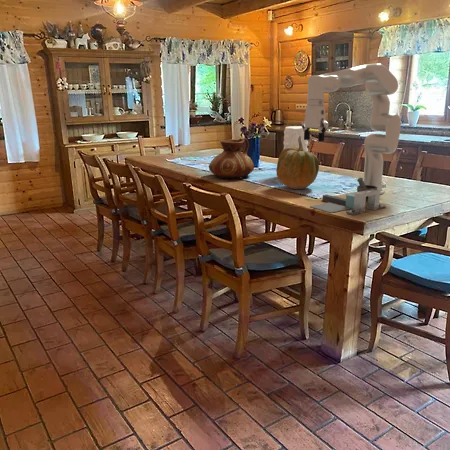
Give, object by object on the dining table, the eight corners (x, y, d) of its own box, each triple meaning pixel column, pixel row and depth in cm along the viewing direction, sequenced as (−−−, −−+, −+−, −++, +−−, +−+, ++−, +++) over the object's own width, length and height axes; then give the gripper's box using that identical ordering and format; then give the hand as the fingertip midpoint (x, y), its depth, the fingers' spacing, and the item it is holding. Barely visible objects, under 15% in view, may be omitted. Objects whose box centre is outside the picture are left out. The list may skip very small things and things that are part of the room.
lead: (326, 200, 229) (326, 194, 228) (350, 206, 216) (350, 200, 215) (322, 201, 227) (322, 195, 226) (346, 207, 215) (346, 201, 214)
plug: (351, 205, 216) (352, 193, 214) (362, 208, 211) (363, 196, 209) (345, 206, 214) (346, 194, 212) (355, 209, 208) (356, 197, 207)
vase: (306, 173, 300) (308, 125, 291) (308, 178, 285) (310, 127, 276) (281, 173, 302) (282, 126, 293) (282, 178, 287) (283, 127, 278)
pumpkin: (302, 182, 272) (304, 133, 263) (326, 190, 249) (329, 136, 240) (268, 185, 264) (269, 134, 255) (289, 194, 241) (291, 138, 232)
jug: (235, 182, 275) (235, 142, 268) (199, 177, 292) (198, 139, 285) (262, 175, 297) (262, 137, 290) (226, 171, 315) (225, 135, 308)
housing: (378, 206, 214) (379, 187, 211) (385, 207, 211) (386, 189, 208) (345, 213, 202) (347, 194, 200) (352, 215, 199) (354, 195, 196)
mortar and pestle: (367, 197, 232) (369, 174, 229) (380, 200, 224) (382, 177, 221) (350, 199, 228) (351, 176, 224) (362, 203, 220) (364, 179, 216)
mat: (330, 203, 221) (330, 202, 221) (352, 208, 210) (352, 207, 210) (309, 207, 214) (309, 206, 214) (331, 213, 203) (331, 212, 203)
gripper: (334, 103, 201) (332, 141, 206) (308, 103, 215) (307, 138, 219) (322, 103, 197) (321, 142, 202) (296, 103, 211) (295, 139, 216)
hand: (313, 140), depth 211 cm, fingers open, 9 cm apart
